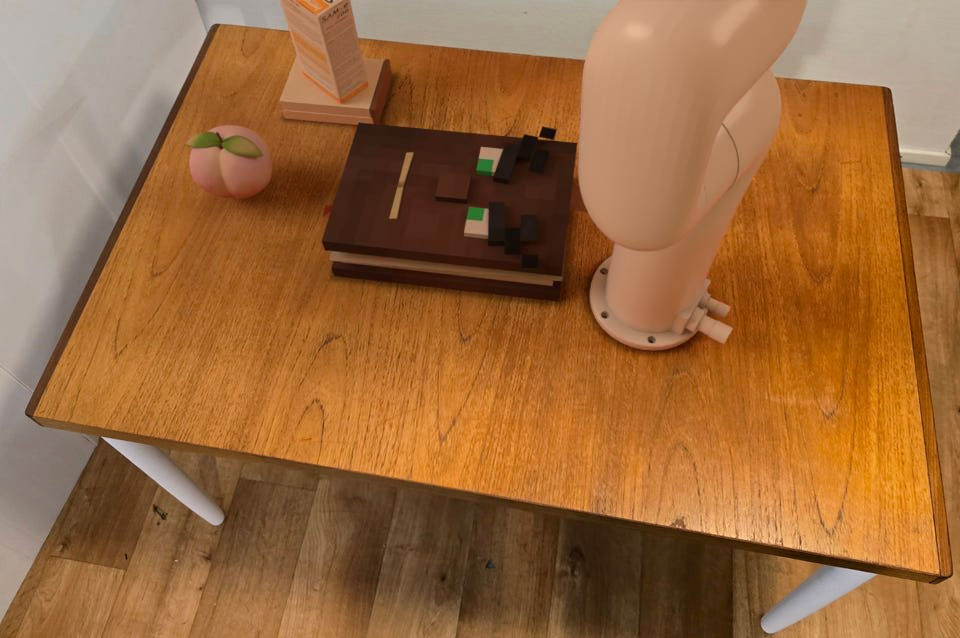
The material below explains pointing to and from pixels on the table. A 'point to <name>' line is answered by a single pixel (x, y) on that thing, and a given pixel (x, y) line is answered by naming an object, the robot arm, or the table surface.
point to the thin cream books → (318, 105)
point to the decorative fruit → (230, 161)
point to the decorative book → (454, 210)
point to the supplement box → (327, 45)
